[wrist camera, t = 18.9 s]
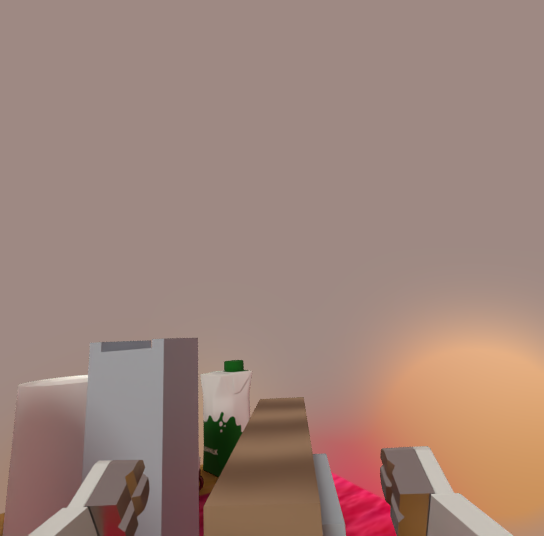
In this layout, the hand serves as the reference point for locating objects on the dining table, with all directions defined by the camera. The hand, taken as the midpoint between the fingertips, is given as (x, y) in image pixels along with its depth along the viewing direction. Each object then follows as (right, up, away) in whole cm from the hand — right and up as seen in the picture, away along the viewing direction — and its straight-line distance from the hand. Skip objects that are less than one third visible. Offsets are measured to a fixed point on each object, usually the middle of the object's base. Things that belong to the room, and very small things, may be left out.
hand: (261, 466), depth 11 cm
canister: (-28, -30, +33) cm, 53 cm away
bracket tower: (-13, -27, +23) cm, 38 cm away
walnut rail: (+1, -7, +8) cm, 11 cm away
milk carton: (-8, -32, +51) cm, 61 cm away
